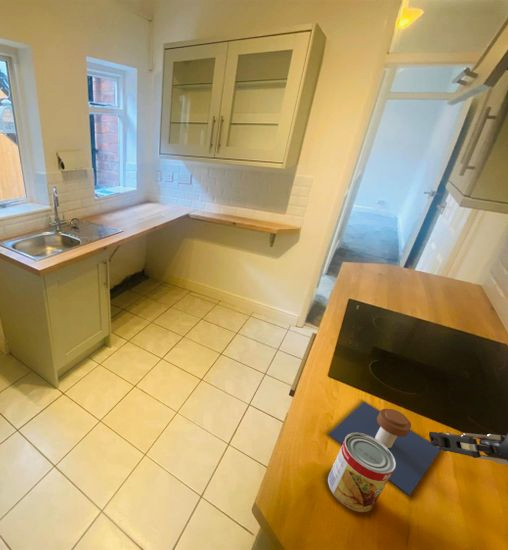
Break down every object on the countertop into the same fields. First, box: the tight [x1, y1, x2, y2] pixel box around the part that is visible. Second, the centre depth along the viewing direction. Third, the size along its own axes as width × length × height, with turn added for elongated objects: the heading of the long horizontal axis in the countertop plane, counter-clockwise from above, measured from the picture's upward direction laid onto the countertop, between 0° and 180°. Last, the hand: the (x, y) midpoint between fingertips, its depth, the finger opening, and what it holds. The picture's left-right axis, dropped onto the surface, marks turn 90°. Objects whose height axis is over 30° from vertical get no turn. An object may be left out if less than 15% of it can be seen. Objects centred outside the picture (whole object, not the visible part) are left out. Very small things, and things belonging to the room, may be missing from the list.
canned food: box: [327, 433, 396, 513], centre depth 58 cm, size 8×8×12 cm
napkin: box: [328, 401, 441, 496], centre depth 71 cm, size 18×16×1 cm
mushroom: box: [375, 408, 412, 448], centre depth 69 cm, size 6×6×8 cm
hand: (458, 440), depth 53 cm, fingers open, 8 cm apart
